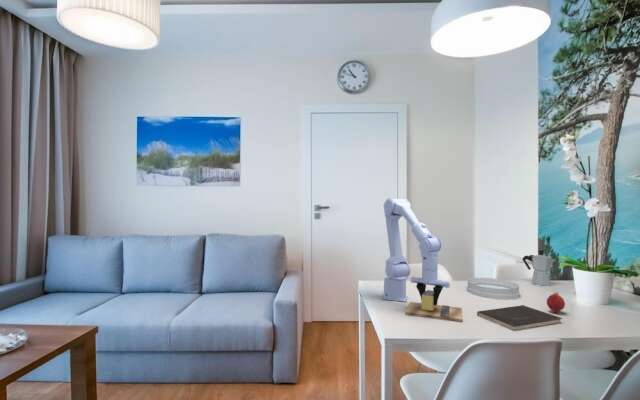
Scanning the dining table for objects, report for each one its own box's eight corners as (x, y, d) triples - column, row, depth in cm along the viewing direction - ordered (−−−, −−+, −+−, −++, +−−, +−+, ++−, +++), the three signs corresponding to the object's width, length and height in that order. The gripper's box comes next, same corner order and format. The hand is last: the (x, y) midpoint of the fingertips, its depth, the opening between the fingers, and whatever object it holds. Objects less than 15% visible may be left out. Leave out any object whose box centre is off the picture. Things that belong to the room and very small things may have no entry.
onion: (559, 316, 128) (559, 294, 128) (543, 311, 134) (543, 291, 134) (567, 313, 131) (568, 293, 131) (551, 309, 136) (552, 289, 136)
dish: (528, 295, 157) (529, 284, 157) (504, 303, 145) (504, 291, 145) (482, 285, 176) (483, 275, 176) (457, 291, 163) (457, 281, 163)
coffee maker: (557, 285, 175) (557, 250, 175) (554, 288, 169) (554, 252, 169) (524, 280, 186) (524, 247, 186) (520, 283, 179) (520, 249, 179)
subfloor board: (405, 314, 128) (405, 311, 128) (409, 304, 141) (409, 301, 141) (462, 322, 121) (462, 318, 121) (461, 310, 134) (461, 307, 134)
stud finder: (421, 308, 130) (421, 293, 130) (427, 304, 136) (427, 289, 136) (432, 310, 128) (432, 294, 128) (437, 306, 134) (437, 291, 134)
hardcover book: (561, 324, 121) (562, 318, 121) (514, 332, 113) (514, 325, 113) (521, 310, 136) (521, 304, 136) (476, 316, 128) (477, 310, 128)
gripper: (451, 269, 131) (451, 304, 131) (414, 264, 139) (414, 298, 139) (447, 272, 125) (446, 309, 125) (408, 267, 133) (408, 302, 133)
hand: (429, 303), depth 132 cm, fingers closed on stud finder, 4 cm apart
